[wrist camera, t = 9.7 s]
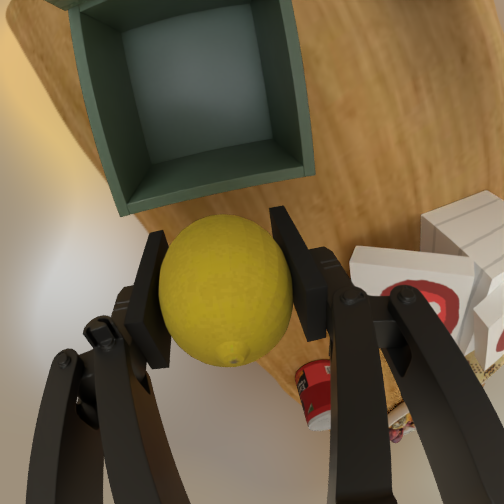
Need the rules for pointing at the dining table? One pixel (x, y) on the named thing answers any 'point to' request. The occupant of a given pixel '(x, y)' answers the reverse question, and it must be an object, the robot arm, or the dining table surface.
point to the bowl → (400, 423)
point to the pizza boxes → (450, 272)
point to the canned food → (315, 394)
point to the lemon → (225, 291)
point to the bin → (192, 96)
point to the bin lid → (65, 3)
